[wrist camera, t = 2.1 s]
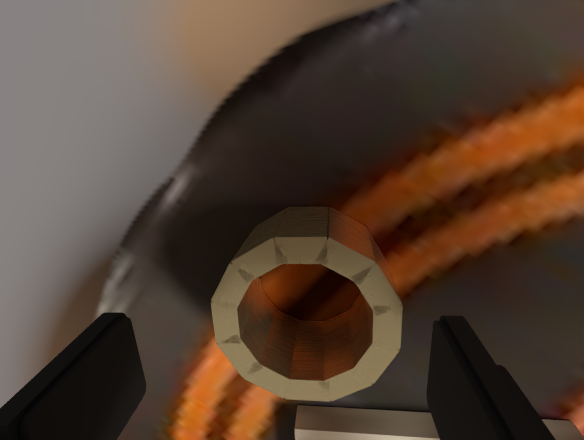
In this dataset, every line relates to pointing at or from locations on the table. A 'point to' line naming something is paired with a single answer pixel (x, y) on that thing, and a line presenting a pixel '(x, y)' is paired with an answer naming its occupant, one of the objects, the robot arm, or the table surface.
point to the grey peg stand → (386, 425)
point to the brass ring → (300, 333)
